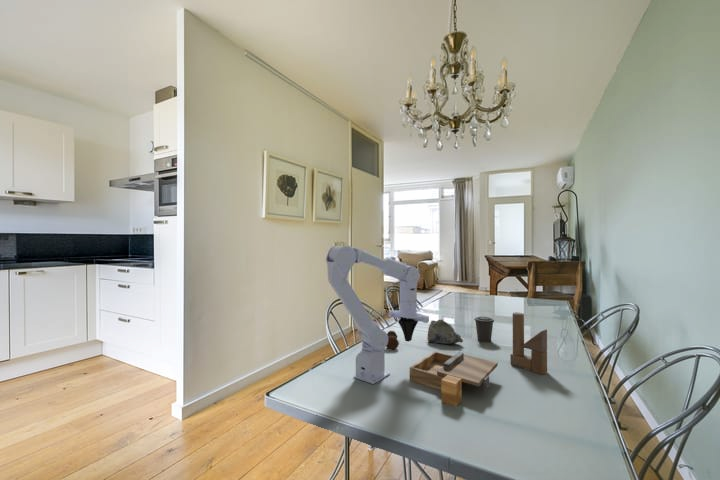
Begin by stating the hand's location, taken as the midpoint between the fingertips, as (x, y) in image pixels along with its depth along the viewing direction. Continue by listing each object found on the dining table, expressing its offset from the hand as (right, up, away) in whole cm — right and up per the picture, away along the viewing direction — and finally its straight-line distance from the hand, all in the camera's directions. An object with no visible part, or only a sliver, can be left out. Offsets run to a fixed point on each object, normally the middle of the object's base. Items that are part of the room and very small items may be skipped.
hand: (408, 340), depth 106 cm
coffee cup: (+37, -10, +29) cm, 48 cm away
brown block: (+8, -9, -22) cm, 25 cm away
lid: (+17, -7, -12) cm, 22 cm away
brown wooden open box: (+9, -9, -6) cm, 15 cm away
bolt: (-3, -10, +26) cm, 28 cm away
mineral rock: (+19, -10, +25) cm, 33 cm away
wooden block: (+41, -10, -1) cm, 42 cm away
